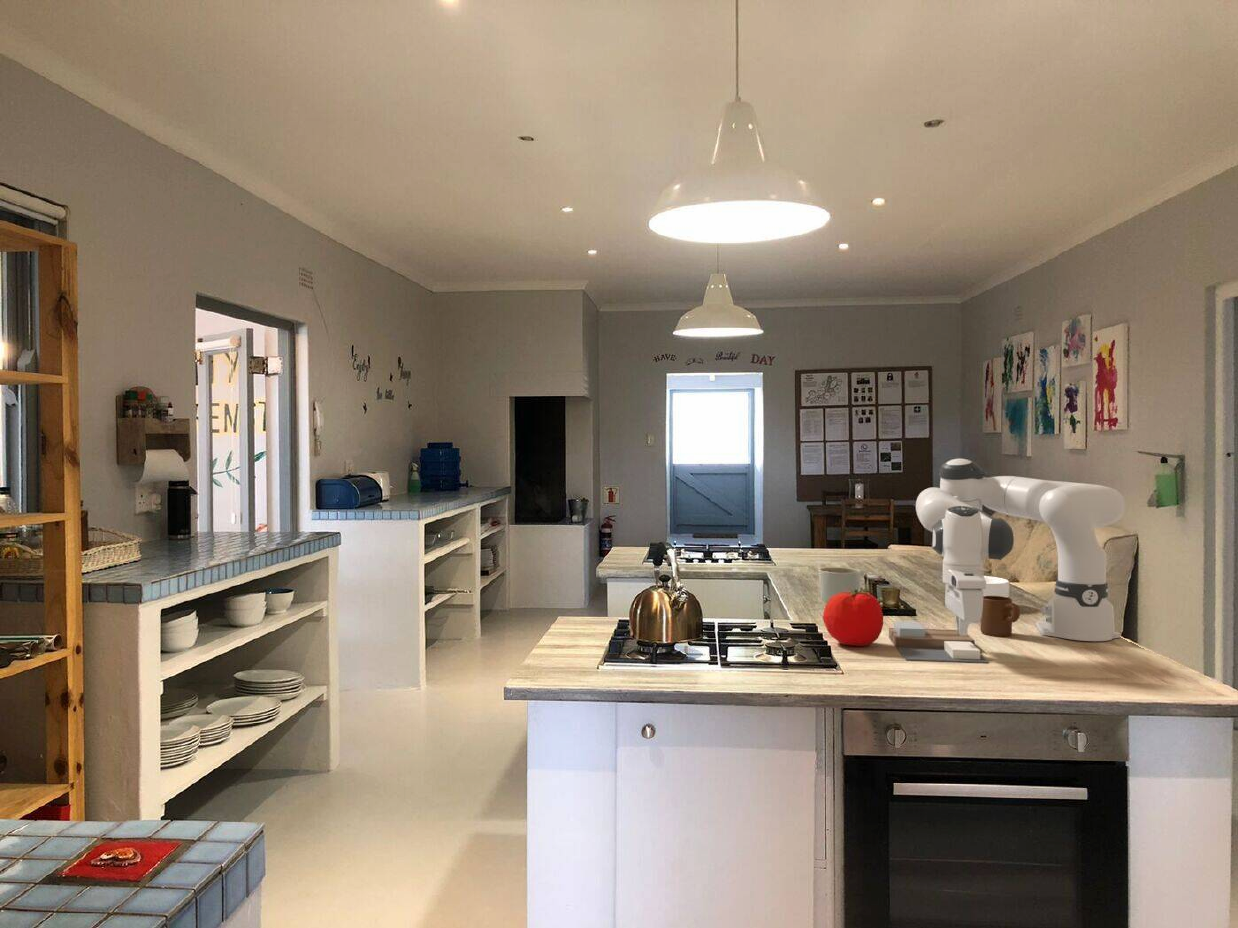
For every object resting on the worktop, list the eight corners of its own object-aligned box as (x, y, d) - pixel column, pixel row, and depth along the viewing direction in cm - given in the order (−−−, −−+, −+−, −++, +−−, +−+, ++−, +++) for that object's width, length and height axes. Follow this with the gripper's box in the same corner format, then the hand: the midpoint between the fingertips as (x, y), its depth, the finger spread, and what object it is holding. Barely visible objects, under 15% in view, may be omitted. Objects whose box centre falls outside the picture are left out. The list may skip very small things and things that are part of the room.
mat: (896, 648, 216) (896, 647, 216) (974, 650, 213) (974, 649, 213) (906, 660, 204) (906, 658, 204) (988, 663, 202) (988, 661, 202)
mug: (1030, 639, 226) (1031, 602, 226) (1005, 641, 224) (1006, 604, 224) (998, 630, 238) (998, 594, 237) (974, 631, 235) (974, 596, 235)
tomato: (895, 647, 217) (895, 591, 217) (854, 654, 210) (855, 596, 210) (847, 635, 231) (847, 582, 230) (808, 641, 223) (808, 587, 223)
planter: (865, 608, 267) (865, 572, 267) (824, 609, 267) (824, 572, 267) (853, 601, 280) (854, 567, 279) (814, 601, 279) (814, 567, 279)
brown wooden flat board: (888, 637, 228) (888, 627, 228) (962, 639, 225) (962, 630, 225) (896, 648, 216) (897, 638, 216) (974, 650, 213) (974, 640, 213)
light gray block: (893, 628, 227) (893, 621, 227) (918, 629, 226) (918, 621, 226) (899, 636, 218) (899, 628, 218) (925, 637, 217) (925, 629, 217)
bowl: (969, 612, 263) (969, 584, 262) (937, 602, 279) (937, 575, 279) (1021, 610, 266) (1021, 582, 266) (986, 600, 283) (986, 574, 283)
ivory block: (944, 649, 214) (944, 640, 214) (970, 650, 213) (970, 641, 213) (952, 658, 205) (952, 649, 205) (980, 659, 204) (980, 650, 204)
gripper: (938, 569, 220) (938, 625, 221) (958, 582, 200) (958, 643, 200) (965, 569, 219) (964, 625, 220) (988, 582, 199) (987, 644, 199)
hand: (961, 634), depth 210 cm, fingers closed
